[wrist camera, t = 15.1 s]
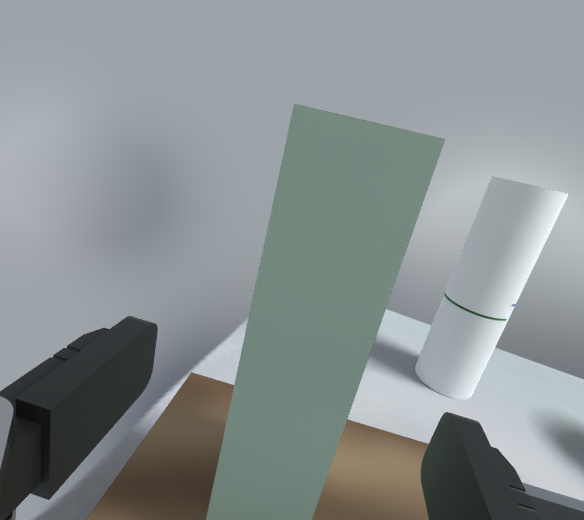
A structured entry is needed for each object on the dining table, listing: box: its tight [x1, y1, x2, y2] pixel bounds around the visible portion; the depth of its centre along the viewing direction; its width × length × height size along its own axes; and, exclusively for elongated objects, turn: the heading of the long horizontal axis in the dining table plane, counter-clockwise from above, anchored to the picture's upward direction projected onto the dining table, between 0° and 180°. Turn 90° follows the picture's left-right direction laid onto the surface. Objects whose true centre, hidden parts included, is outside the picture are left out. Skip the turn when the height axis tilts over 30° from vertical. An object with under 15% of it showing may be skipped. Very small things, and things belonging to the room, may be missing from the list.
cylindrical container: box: [415, 177, 568, 399], centre depth 41 cm, size 7×7×25 cm
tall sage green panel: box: [206, 104, 445, 520], centre depth 15 cm, size 7×4×18 cm, turn 171°
